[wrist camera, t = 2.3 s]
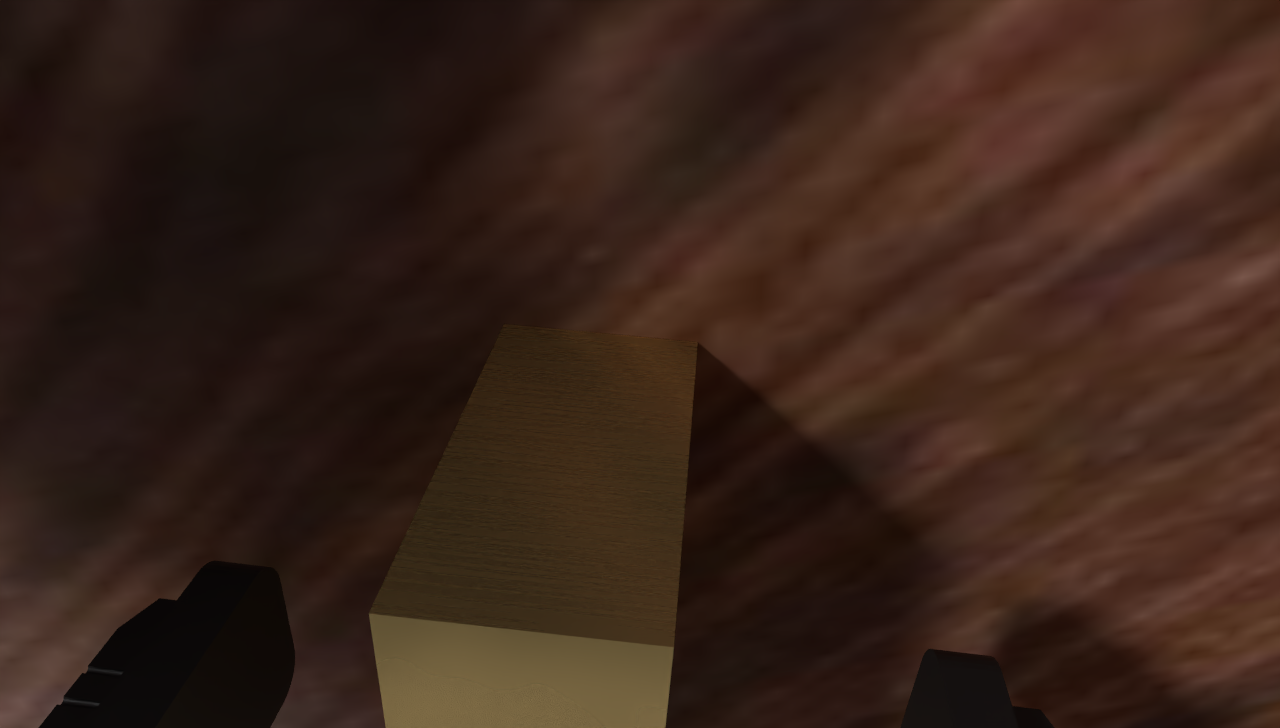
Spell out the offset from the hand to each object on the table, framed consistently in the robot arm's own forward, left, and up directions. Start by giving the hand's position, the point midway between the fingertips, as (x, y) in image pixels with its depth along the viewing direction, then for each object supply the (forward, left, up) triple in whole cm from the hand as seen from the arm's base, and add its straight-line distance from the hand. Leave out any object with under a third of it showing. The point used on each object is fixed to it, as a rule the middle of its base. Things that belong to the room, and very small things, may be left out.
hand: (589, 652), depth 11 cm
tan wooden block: (0, 0, -2) cm, 2 cm away
